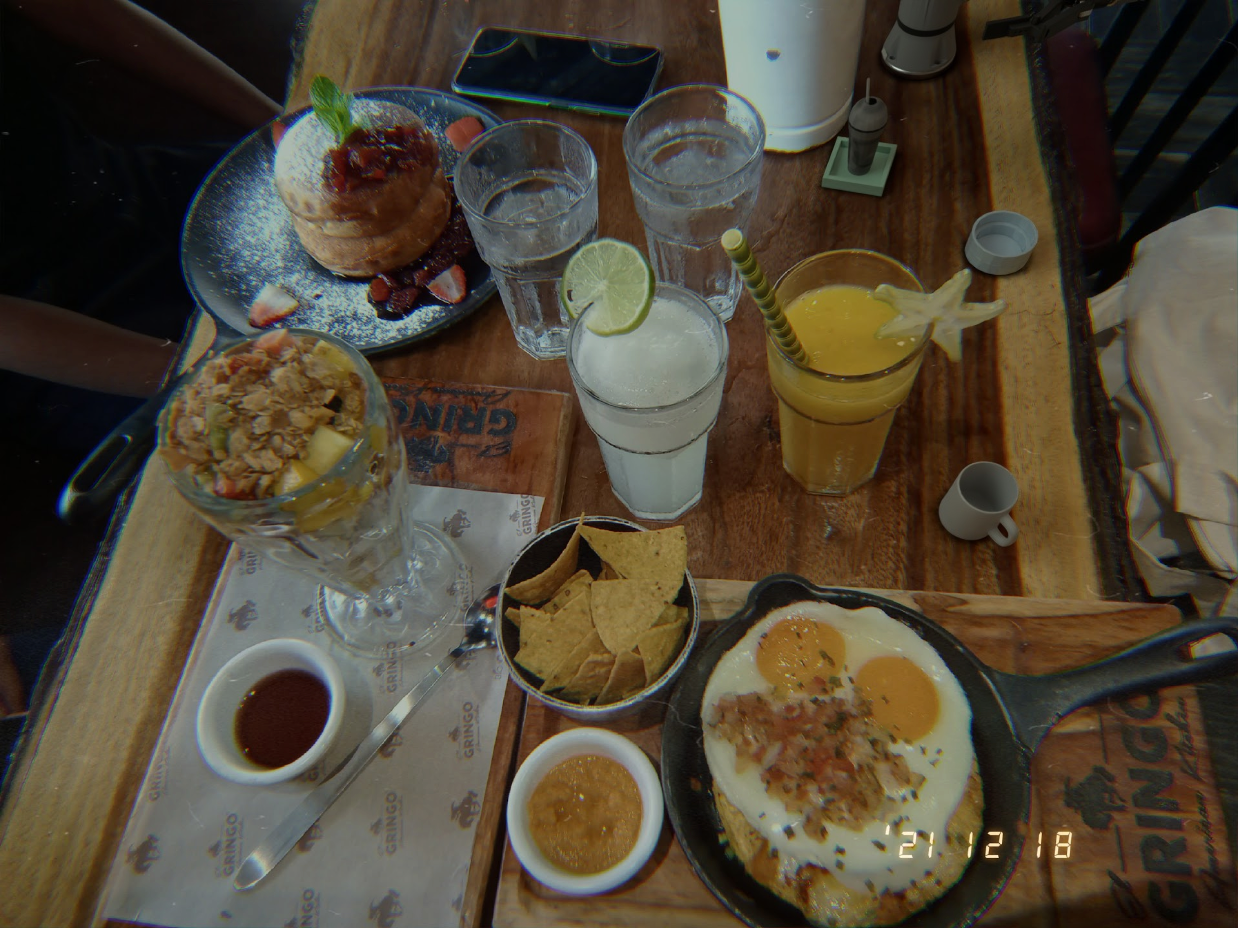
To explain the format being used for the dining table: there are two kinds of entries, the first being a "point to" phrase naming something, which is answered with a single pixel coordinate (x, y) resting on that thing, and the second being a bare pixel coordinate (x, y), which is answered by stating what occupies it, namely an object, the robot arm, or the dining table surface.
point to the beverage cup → (865, 132)
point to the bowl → (1001, 242)
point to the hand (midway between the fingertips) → (971, 5)
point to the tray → (865, 184)
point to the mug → (981, 503)
